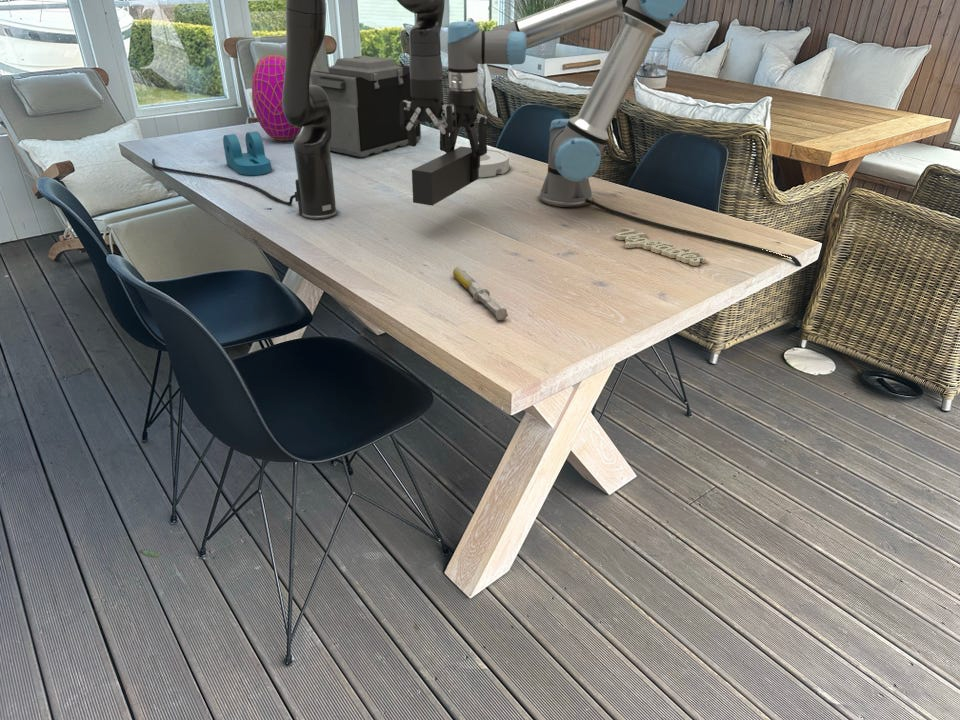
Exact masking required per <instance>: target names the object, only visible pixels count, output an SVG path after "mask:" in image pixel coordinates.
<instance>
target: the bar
mask: <svg viewBox="0 0 960 720" xmlns="http://www.w3.org/2000/svg"><path fill="white" fill-rule="evenodd" d="M472 156H473V154H472V150H471V146H470V147H469V146H459V147H457V148H454V150H452V151H450V152H448V153H446V154H444V155H442V156H440V155H439V156H438V157H435V158H434V159H431V160H430V161H427V162H425V163H423V164H421V165H419V166H417V167H415V168H412V169H411V182H412V183H411V184H412V187H411V188H412V203H413V204H419V205H425V206H432V207H433V206H434V205H436V204H438V203H439V202H441V201H443V200H444V199H447V198H448V197H449V196H451V195H453V194H455V193H457V192H459V191H460V190H462V189H464V188H465V187H467V186H468V185H470V184H472V183H473V182H470V157H472ZM479 179H480V177H479V169H477V180H479Z"/></svg>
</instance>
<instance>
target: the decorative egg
mask: <svg viewBox="0 0 960 720" xmlns="http://www.w3.org/2000/svg"><path fill="white" fill-rule="evenodd" d="M285 63H286V56H282V55H280V54H268V55H265V56H262V57H261V58H260V59H259V60H258V61H257V62H256V65H255V68H254V69H253V70H254V71H253V73H252V77H251V101H252V107H253V110H254V114H255V116H256V118H257V121H258V123H259V125H260V127H261V128H262V130H263V131H264V133H266V135H267V136H268V137H270V138H271V139H273V140H275V141H282V142H286V141H291V140H293V139H296V138H297V137H298V136H299V135H300V134H301V132H302V130H303V127H294V126H292V125H291V124H290V123H289V122H288V121H287V120H286V118H285V115H284V112H283V107H282V94H283V84H284V75H285Z"/></svg>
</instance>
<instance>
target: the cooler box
mask: <svg viewBox="0 0 960 720" xmlns="http://www.w3.org/2000/svg"><path fill="white" fill-rule="evenodd" d="M310 80H311V85H317V86H319V87H321V88H322V89H323V90H324V91H325V93H326V94H327V96H328V99H329V103H330V109H331V126H332V139H331V142H330V152H335V153H340V154H344V155H348V156H353V157H357V158H362V159H363V158H366V157H367V158H368V157H369V155H371V154H375V155H377V154H381V153H382V152H383V151H391V150H395V149H396V148H397V147H405V146H407V145H408V144H409V143H408V131H407V129H406V128H404V127H401V126H400V102H401V101H404V100H408V101H409V102H411V101H412V97H411V90H410V69H409V65H400V64H396V62H395V60H394V59H393V58H385V57H377V56H367V55H356V56H353V57H350V58H349V57H343V58H342V57H341V59H340V58H337V59H336V60H335V63H334V64H333V65H330V66H329V67H328V72H327V71H320V70H314V71H313V70H312V71H311V73H310ZM413 114H414V112H413V110H412V109H411V108H410V110H409V122H410V119H411V117H412V116H413ZM421 123H422V122H419V123H418V124H417V126H416V128H415V129H416V136H417V143H418V142H419V141H421V137H422V128H421Z"/></svg>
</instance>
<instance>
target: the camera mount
mask: <svg viewBox="0 0 960 720" xmlns="http://www.w3.org/2000/svg"><path fill="white" fill-rule="evenodd" d="M222 140H223V141H222V143H223V149H224V150H223V151H224V156H225V161H226V165H227V166H228V167H230V168H231V169H232V170H234V171H236V172H237V173H238V174H239V175H244V176H260V175H265V174H268V173H271V172H272V164H271V159H270V158H268V157H267V156H266V153H265V145H264V141H263V139H262V136H261V134H260V132H258V131H247V132H246V133H245V146H246V152H243V151H242V150H243V149H242V146H241V142H240V140H239V138H238V135H236V134H235V133H231V134H224V135H223V138H222Z"/></svg>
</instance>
